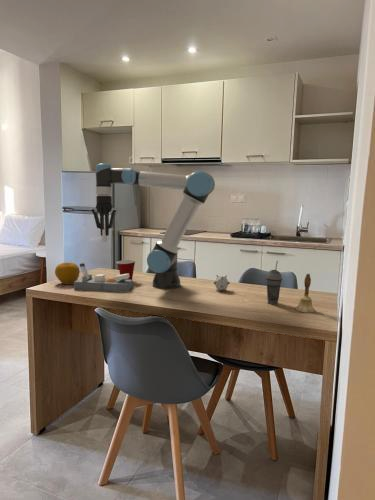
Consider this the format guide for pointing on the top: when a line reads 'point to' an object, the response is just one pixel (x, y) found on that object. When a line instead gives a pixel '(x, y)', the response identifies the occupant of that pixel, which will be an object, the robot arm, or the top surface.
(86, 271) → the lever
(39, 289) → the top surface
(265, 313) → the top surface
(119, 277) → the rocker
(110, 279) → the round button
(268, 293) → the beverage cup
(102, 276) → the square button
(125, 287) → the grey tray
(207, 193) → the robot arm
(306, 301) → the hand bell
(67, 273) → the apple
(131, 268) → the plastic cup
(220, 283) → the grey spiky ball
